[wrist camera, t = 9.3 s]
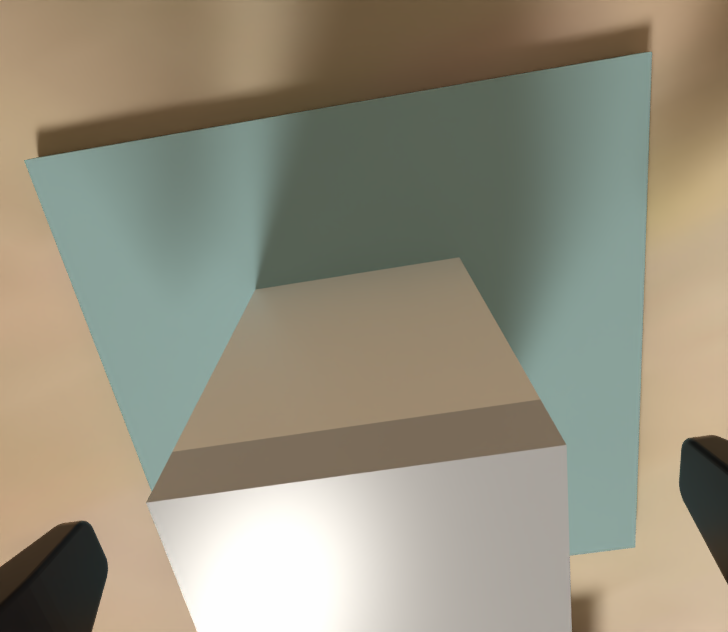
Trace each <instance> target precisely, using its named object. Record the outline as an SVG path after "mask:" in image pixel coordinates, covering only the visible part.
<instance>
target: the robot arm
mask: <svg viewBox="0 0 728 632" xmlns="http://www.w3.org/2000/svg"><path fill="white" fill-rule="evenodd" d="M679 487H680V492H681V496H682V498H683V501H684V503H685V505H686V507H687V508H688V510H689V512H690V514H691V516H692V518H693V520H694V522H695V524H696V525H697V527H698V529H699V531H700V533H701V535H702V537H703V539H704V541H705V542H706V544H707V546H708V548H709V550H710V552H711V554H712V556H713V558H714V559H715V561H716V563H717V565H718V567H719V569H720V571H721V573H722V574H723V576H724V578H725V580H726V582H727V584H728V440H726V439H723V438H721V437H718V436H715V435H707V436H700V437H693V438H688V439H686V440H685V441H684V442H683V444H682V449H681V463H680V477H679ZM107 573H108V564H107V559H106V556H105V554H104V552H103V550H102V547H101V545H100V543H99V541H98V539H97V536H96V534H95V532H94V530H93V528H92V526H91V524H89V523H88V522H87V521H76V522H68V523H62V524H59V525H57V526H56V527H54V528H53V529H51V530H50V531H49V532H47V533H46V534H45V535H43V536H42V537H41V538H39V539H38V540H36V541H35V542H34V543H32V544H31V545H30V546H28V547H27V548H26V549H24V550H23V551H21V552H20V553H19V554H17V555H16V556H15V557H13V558H12V559H11V560H9V561H8V562H6V563H5V564H4V565H2V566H1V567H0V632H92V629H93V626H94V622H95V618H96V615H97V611H98V607H99V604H100V600H101V596H102V593H103V589H104V586H105V582H106V578H107Z"/></svg>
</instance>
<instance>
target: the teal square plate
mask: <svg viewBox="0 0 728 632" xmlns="http://www.w3.org/2000/svg"><path fill="white" fill-rule="evenodd" d="M651 66H652V52H644V53H637V54H631V55H625V56H620V57H614V58H608V59H602V60H597V61H591V62H585V63H579V64H573V65H568V66H562V67H556V68H550V69H545V70H539V71H533V72H527V73H522V74H516V75H510V76H504V77H498V78H493V79H487V80H481V81H475V82H470V83H464V84H458V85H452V86H447V87H441V88H435V89H429V90H424V91H418V92H412V93H406V94H400V95H395V96H389V97H383V98H377V99H372V100H366V101H360V102H354V103H349V104H343V105H337V106H331V107H325V108H320V109H314V110H308V111H302V112H297V113H291V114H285V115H279V116H274V117H268V118H262V119H256V120H251V121H245V122H239V123H233V124H227V125H222V126H216V127H210V128H204V129H199V130H193V131H187V132H181V133H176V134H170V135H164V136H158V137H153V138H147V139H141V140H135V141H129V142H124V143H118V144H112V145H106V146H101V147H95V148H89V149H83V150H78V151H72V152H66V153H60V154H54V155H49V156H43V157H37V158H33V159H28V160H24V161H25V164H26V166H27V169H28V172H29V174H30V177H31V179H32V182H33V185H34V187H35V190H36V192H37V195H38V198H39V200H40V203H41V205H42V208H43V211H44V213H45V216H46V218H47V221H48V224H49V226H50V229H51V231H52V234H53V237H54V239H55V242H56V244H57V247H58V249H59V252H60V255H61V257H62V260H63V262H64V265H65V268H66V270H67V273H68V275H69V278H70V281H71V283H72V286H73V288H74V291H75V294H76V296H77V299H78V301H79V304H80V307H81V309H82V312H83V314H84V317H85V320H86V322H87V325H88V327H89V330H90V333H91V335H92V338H93V340H94V343H95V346H96V348H97V351H98V353H99V356H100V359H101V361H102V364H103V366H104V369H105V372H106V374H107V377H108V379H109V382H110V385H111V387H112V390H113V392H114V395H115V397H116V400H117V403H118V405H119V408H120V410H121V413H122V416H123V418H124V421H125V423H126V426H127V429H128V431H129V434H130V436H131V439H132V442H133V444H134V447H135V449H136V452H137V455H138V457H139V460H140V462H141V465H142V468H143V470H144V473H145V475H146V478H147V481H148V483H149V486H150V488H151V491H152V490H153V489H154V487H155V485H156V483H157V481H158V479H159V477H160V475H161V473H162V471H163V469H164V467H165V465H166V463H167V461H168V459H169V457H170V455H171V453H172V451H173V449H174V447H175V446H176V444H177V442H178V440H179V438H180V436H181V434H182V432H183V430H184V428H185V426H186V424H187V422H188V420H189V418H190V416H191V414H192V412H193V410H194V408H195V406H196V404H197V402H198V401H199V399H200V397H201V395H202V393H203V391H204V389H205V387H206V385H207V383H208V381H209V379H210V377H211V375H212V373H213V371H214V369H215V367H216V365H217V363H218V361H219V359H220V358H221V356H222V354H223V352H224V350H225V348H226V346H227V344H228V342H229V340H230V338H231V336H232V334H233V332H234V330H235V328H236V326H237V324H238V322H239V320H240V318H241V316H242V315H243V313H244V311H245V309H246V307H247V305H248V303H249V301H250V299H251V297H252V295H253V293H254V291H255V290H256V289H262V288H268V287H275V286H281V285H287V284H294V283H300V282H306V281H313V280H319V279H325V278H332V277H338V276H344V275H351V274H357V273H363V272H370V271H376V270H382V269H389V268H395V267H401V266H408V265H414V264H420V263H427V262H433V261H439V260H445V259H452V258H458V257H459V258H460V259H461V261H462V263H463V265H464V266H465V268H466V270H467V272H468V273H469V275H470V277H471V279H472V280H473V282H474V284H475V286H476V287H477V289H478V291H479V293H480V294H481V296H482V298H483V300H484V301H485V303H486V305H487V307H488V308H489V310H490V312H491V314H492V315H493V317H494V319H495V321H496V322H497V324H498V326H499V328H500V329H501V331H502V333H503V335H504V336H505V338H506V340H507V342H508V343H509V345H510V347H511V349H512V350H513V352H514V354H515V356H516V357H517V359H518V361H519V363H520V364H521V366H522V368H523V370H524V371H525V373H526V375H527V377H528V378H529V380H530V382H531V384H532V385H533V387H534V389H535V391H536V392H537V394H538V396H539V398H540V399H541V401H542V403H543V405H544V406H545V408H546V410H547V412H548V413H549V415H550V417H551V419H552V420H553V422H554V424H555V426H556V427H557V429H558V431H559V433H560V434H561V436H562V438H563V440H564V441H565V443H566V445H567V479H568V515H569V550H570V555H578V554H586V553H594V552H602V551H610V550H618V549H626V548H634V547H635V535H636V506H637V477H638V447H639V418H640V389H641V359H642V330H643V301H644V271H645V242H646V212H647V183H648V154H649V124H650V95H651Z"/></svg>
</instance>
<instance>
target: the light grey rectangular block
mask: <svg viewBox="0 0 728 632" xmlns="http://www.w3.org/2000/svg"><path fill="white" fill-rule="evenodd" d="M146 503H147V506H148V508H149V511H150V513H151V516H152V519H153V521H154V524H155V526H156V529H157V531H158V534H159V536H160V539H161V541H162V544H163V546H164V549H165V551H166V554H167V556H168V559H169V561H170V564H171V566H172V569H173V572H174V574H175V577H176V579H177V582H178V584H179V587H180V589H181V592H182V594H183V597H184V599H185V602H186V604H187V607H188V609H189V612H190V614H191V617H192V619H193V622H194V624H195V627H196V630H197V632H572V620H571V585H570V550H569V515H568V479H567V445H566V443H565V441H564V440H563V438H562V436H561V434H560V433H559V431H558V429H557V427H556V426H555V424H554V422H553V420H552V419H551V417H550V415H549V413H548V412H547V410H546V408H545V406H544V405H543V403H542V401H541V399H540V398H539V396H538V394H537V392H536V391H535V389H534V387H533V385H532V384H531V382H530V380H529V378H528V377H527V375H526V373H525V371H524V370H523V368H522V366H521V364H520V363H519V361H518V359H517V357H516V356H515V354H514V352H513V350H512V349H511V347H510V345H509V343H508V342H507V340H506V338H505V336H504V335H503V333H502V331H501V329H500V328H499V326H498V324H497V322H496V321H495V319H494V317H493V315H492V314H491V312H490V310H489V308H488V307H487V305H486V303H485V301H484V300H483V298H482V296H481V294H480V293H479V291H478V289H477V287H476V286H475V284H474V282H473V280H472V279H471V277H470V275H469V273H468V272H467V270H466V268H465V266H464V265H463V263H462V261H461V259H460V258H459V257H458V258H452V259H445V260H439V261H433V262H427V263H420V264H414V265H408V266H401V267H395V268H389V269H382V270H376V271H370V272H363V273H357V274H351V275H344V276H338V277H332V278H325V279H319V280H313V281H306V282H300V283H294V284H287V285H281V286H275V287H268V288H262V289H256V290H255V291H254V293H253V295H252V297H251V299H250V301H249V303H248V305H247V307H246V309H245V311H244V313H243V315H242V316H241V318H240V320H239V322H238V324H237V326H236V328H235V330H234V332H233V334H232V336H231V338H230V340H229V342H228V344H227V346H226V348H225V350H224V352H223V354H222V356H221V358H220V359H219V361H218V363H217V365H216V367H215V369H214V371H213V373H212V375H211V377H210V379H209V381H208V383H207V385H206V387H205V389H204V391H203V393H202V395H201V397H200V399H199V401H198V402H197V404H196V406H195V408H194V410H193V412H192V414H191V416H190V418H189V420H188V422H187V424H186V426H185V428H184V430H183V432H182V434H181V436H180V438H179V440H178V442H177V444H176V446H175V447H174V449H173V451H172V453H171V455H170V457H169V459H168V461H167V463H166V465H165V467H164V469H163V471H162V473H161V475H160V477H159V479H158V481H157V483H156V485H155V487H154V489H153V490H152V492H151V494H150V496H149V498H148V500H147V502H146Z"/></svg>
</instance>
